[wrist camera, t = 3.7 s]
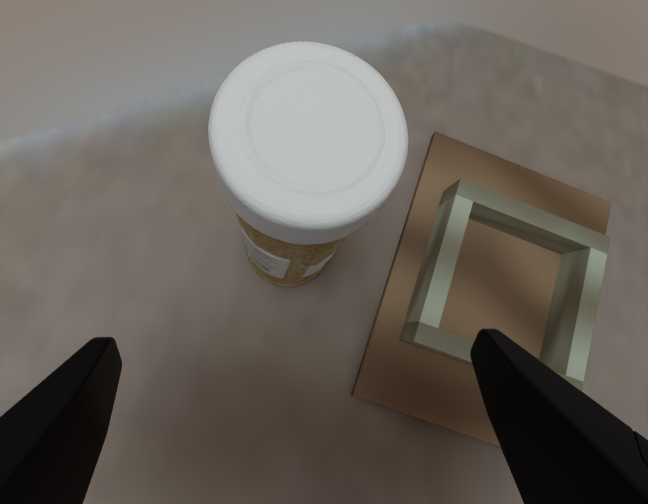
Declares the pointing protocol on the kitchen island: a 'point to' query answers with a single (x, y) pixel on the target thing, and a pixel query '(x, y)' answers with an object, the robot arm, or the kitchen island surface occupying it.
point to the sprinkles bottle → (304, 153)
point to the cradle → (483, 284)
